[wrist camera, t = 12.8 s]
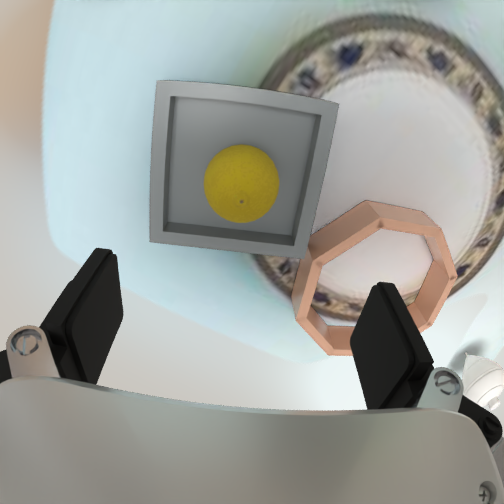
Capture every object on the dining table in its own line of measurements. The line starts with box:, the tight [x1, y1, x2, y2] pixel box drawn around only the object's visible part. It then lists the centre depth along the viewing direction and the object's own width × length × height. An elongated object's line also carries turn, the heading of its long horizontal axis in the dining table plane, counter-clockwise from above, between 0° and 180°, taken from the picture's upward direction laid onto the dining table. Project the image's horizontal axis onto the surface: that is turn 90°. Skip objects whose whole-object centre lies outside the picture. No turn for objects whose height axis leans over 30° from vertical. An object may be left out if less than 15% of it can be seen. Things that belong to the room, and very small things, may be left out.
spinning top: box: [462, 352, 504, 410], centre depth 38 cm, size 8×8×12 cm
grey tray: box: [150, 80, 339, 259], centre depth 27 cm, size 14×14×3 cm
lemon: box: [204, 144, 279, 223], centre depth 24 cm, size 6×6×8 cm
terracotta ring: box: [291, 200, 457, 356], centre depth 33 cm, size 17×17×4 cm
